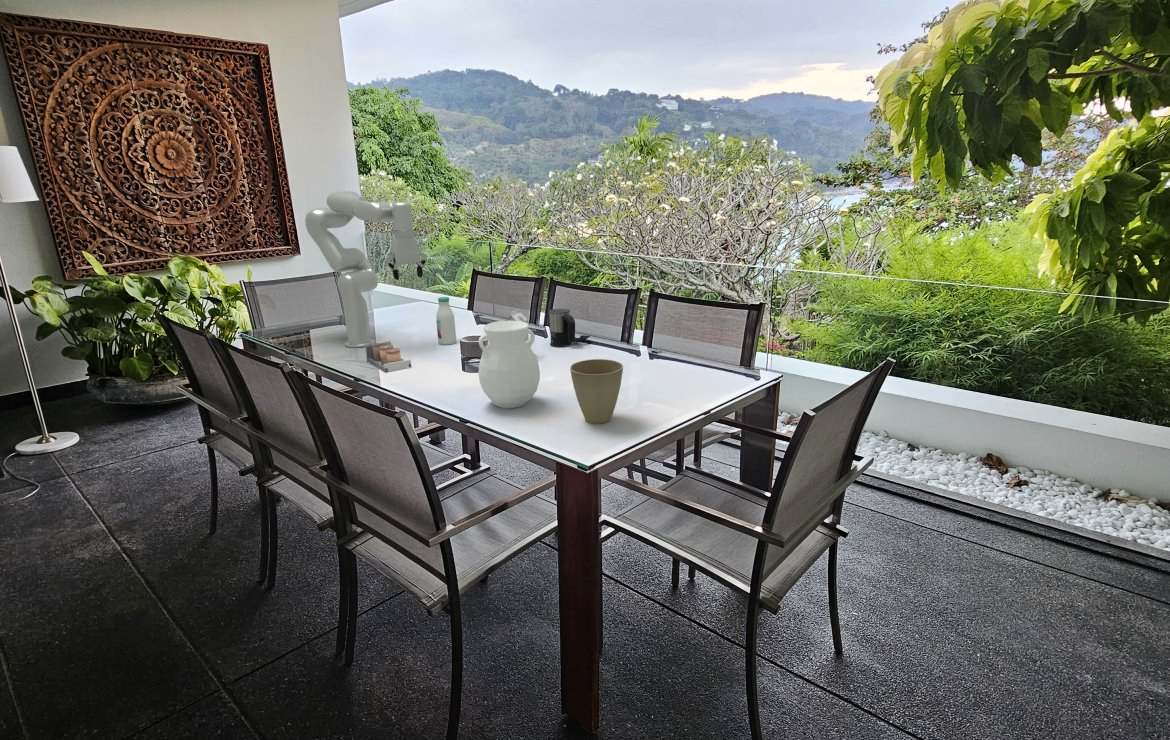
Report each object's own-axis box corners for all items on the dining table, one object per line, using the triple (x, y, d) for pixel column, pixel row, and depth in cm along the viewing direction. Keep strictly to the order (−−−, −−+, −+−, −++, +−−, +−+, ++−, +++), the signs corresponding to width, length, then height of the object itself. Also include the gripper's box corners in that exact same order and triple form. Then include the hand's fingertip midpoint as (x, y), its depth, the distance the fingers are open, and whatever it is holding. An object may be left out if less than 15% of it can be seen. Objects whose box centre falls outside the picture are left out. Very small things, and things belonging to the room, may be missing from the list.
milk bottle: (458, 340, 271) (454, 295, 266) (453, 345, 264) (449, 299, 258) (441, 340, 272) (437, 296, 266) (435, 345, 265) (431, 299, 259)
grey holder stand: (367, 361, 242) (365, 346, 240) (392, 356, 248) (390, 342, 246) (385, 372, 227) (383, 356, 225) (411, 367, 233) (409, 352, 231)
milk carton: (505, 359, 240) (502, 311, 234) (513, 355, 246) (511, 308, 241) (521, 361, 237) (518, 312, 232) (529, 356, 243) (527, 309, 238)
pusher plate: (368, 357, 245) (366, 340, 243) (385, 354, 249) (383, 338, 247) (375, 362, 239) (373, 344, 237) (392, 358, 243) (390, 341, 241)
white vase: (489, 418, 180) (483, 334, 172) (474, 399, 196) (468, 322, 189) (549, 408, 187) (546, 327, 179) (530, 390, 203) (526, 316, 196)
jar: (378, 363, 239) (376, 346, 237) (392, 361, 242) (390, 343, 240) (383, 366, 235) (381, 348, 233) (397, 363, 238) (395, 346, 236)
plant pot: (580, 408, 186) (579, 357, 181) (628, 412, 181) (628, 360, 177) (564, 426, 172) (562, 372, 167) (616, 431, 168) (615, 375, 163)
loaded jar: (385, 367, 233) (383, 349, 231) (399, 365, 236) (397, 347, 234) (390, 370, 229) (388, 352, 227) (404, 367, 232) (402, 350, 230)
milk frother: (545, 345, 260) (543, 311, 256) (567, 337, 272) (566, 304, 268) (572, 350, 252) (571, 314, 248) (594, 341, 264) (593, 307, 260)
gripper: (421, 232, 250) (425, 275, 255) (378, 235, 240) (384, 279, 245) (428, 233, 244) (432, 276, 249) (385, 236, 234) (390, 281, 239)
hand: (408, 278), depth 247 cm, fingers open, 9 cm apart
